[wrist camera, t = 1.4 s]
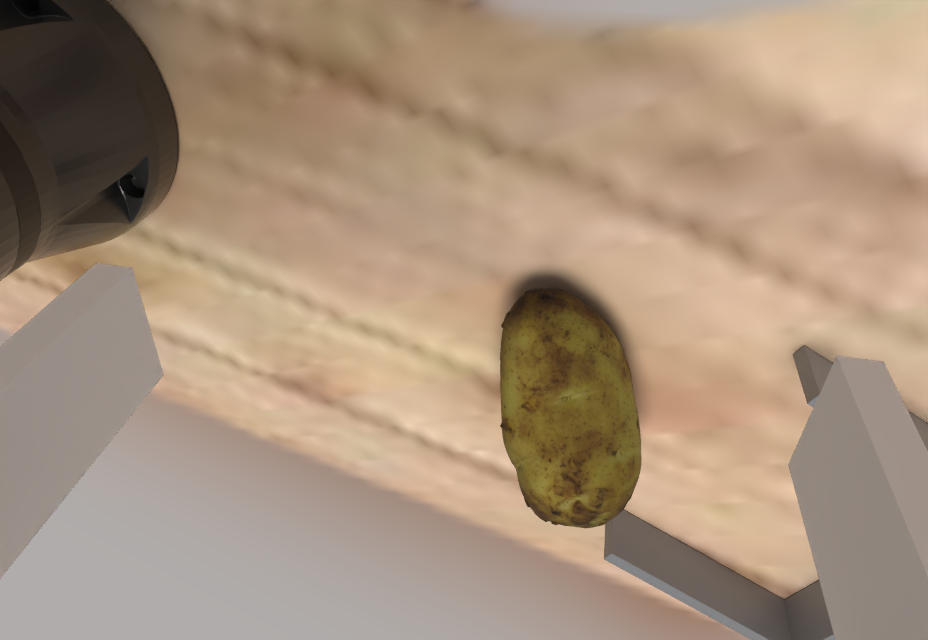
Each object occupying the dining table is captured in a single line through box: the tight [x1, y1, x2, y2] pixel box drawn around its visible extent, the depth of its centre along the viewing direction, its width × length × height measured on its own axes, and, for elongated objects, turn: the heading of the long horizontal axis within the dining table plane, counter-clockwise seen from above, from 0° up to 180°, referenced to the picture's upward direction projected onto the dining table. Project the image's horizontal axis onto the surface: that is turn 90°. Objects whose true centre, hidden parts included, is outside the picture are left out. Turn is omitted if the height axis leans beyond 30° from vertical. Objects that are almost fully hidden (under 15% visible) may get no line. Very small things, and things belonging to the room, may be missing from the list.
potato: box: [500, 289, 641, 528], centre depth 38 cm, size 8×13×8 cm, turn 179°
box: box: [604, 346, 928, 640], centre depth 42 cm, size 15×18×4 cm
